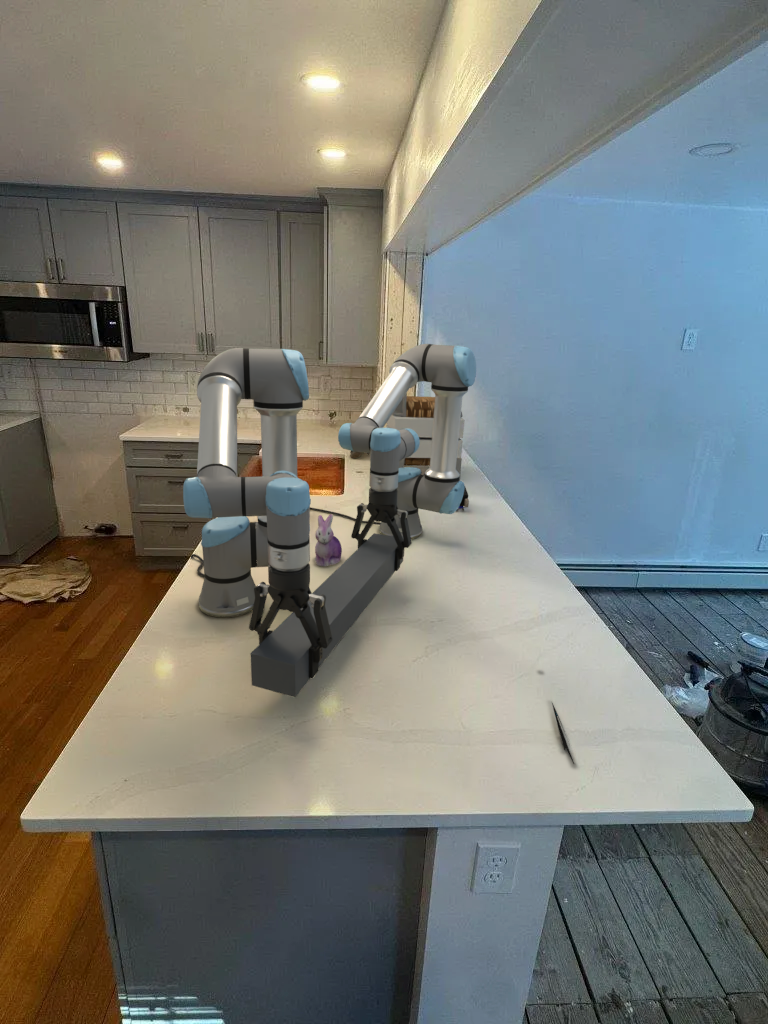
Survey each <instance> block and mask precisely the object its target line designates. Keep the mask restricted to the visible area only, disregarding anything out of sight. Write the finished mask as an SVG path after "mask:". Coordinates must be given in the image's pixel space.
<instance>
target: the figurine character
mask: <svg viewBox="0 0 768 1024" xmlns="http://www.w3.org/2000/svg"><path fill="white" fill-rule="evenodd" d="M469 505H470V500H469V492H468V490H467V488H466V486H465V489H464V494H463V498H462V501H461V503H460V505H459V507H458V509H461V511H462V512H464V511H465V508H469ZM458 509H457V510H456V511H455V512H457V511H458Z"/></svg>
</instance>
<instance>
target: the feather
mask: <svg viewBox="0 0 768 1024" xmlns="http://www.w3.org/2000/svg"><path fill="white" fill-rule="evenodd" d="M540 673H542V670H540ZM551 705H552V709H553V713H554V716H555V721H556V725H557V728H558V732H559V737H560V740H561V742H562V745H563V750H564V751H566V752H567V754H568V755H569V757H570V760H571V762H572V764H573V765H574V764H575V762H574V760H573V759H574V758H573V757H572V754H573V755H574V752H572V753H571V751H570V748H571V750H573V748H574V747H572V746H571V747H570V748H569V745H568V743H570V740H569V738H568V734H567V731H566V730H565V727H564V725H563V723H562V721H561V718H560V716H559V714H558V712H557V710H556V707H555V704H554V703H553V702H551ZM565 736H566V737H565ZM567 742H568V743H567Z"/></svg>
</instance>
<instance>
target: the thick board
mask: <svg viewBox="0 0 768 1024" xmlns="http://www.w3.org/2000/svg"><path fill="white" fill-rule="evenodd" d="M403 540H404V539H403ZM396 547H397V543H396V541H395V539H394V537H393V536H387V535H381V534H380V533H375V532H374V533H372V535H370V536H369V537H368V539H367V541H366V542H364V543H363V544H362V545H361V546H360V547H359V548H358V547H357V549H356V550H355V551H354V552H353V553H352V554H351V555H350V556H349V557H348V558H347V559H346V560H345V561H344V562H342V564H341V565H340V566H339V567H337V569H336V570H334V571H333V572H332V573H331V574H330V575H329V576H328V577H327V578H326V579H325V580H324V581H323V582H322V583H321V584H320V585H319V586H318V587H317V588H316V589H315V590H314V591H313V592H311V593H312V594H314V595H317V596H320V595H321V594H324V595H325V596H326V602H325V608H326V612H327V617H328V621H329V625H330V630H331V634H332V638H333V640H332V642H331V643H330V644H329V646H328V647H327V648H323V657H322V659H321V661H320V662H319V668H320V667H321V666H322V665H323V663H324V662H325V661H326V660H327V658H328V657H329V656H330V655H331V653H333V651H334V650H335V648H336V647H337V646H338V644H339V643H340V642H341V640H342V639H343V638H344V637H345V636H346V634H347V633H348V632H349V630H350V629H351V628H352V627H353V625H354V624H355V623H356V622H357V620H358V619H359V618H360V616H361V615H362V614H363V613H364V612H365V611H366V609H367V608H368V607H369V605H370V604H371V602H373V600H374V599H375V598H376V596H377V595H378V594H379V592H380V591H381V590H382V589H383V588H384V587H385V585H386V584H387V582H388V581H389V580H390V579H391V577H392V576H393V575H394V574H395V573H396V571H394V566H395V549H396ZM403 562H404V557H403V558H402V559H400V566H401V565H402V563H403ZM308 604H309V606H310V612H311V614H312V616H313V618H314V620H315V616H314V608H312V603H311V601H308ZM302 609H303V607H302V608H301V610H302ZM315 622H316V620H315ZM272 631H273V632H272V633H271V634H270V635H269V636H268V637H267V638H266V639H265V640H264V641H263V642H262V643H261V644H259V643H258V645H257V646H256V647H255V648H254V649H253V650H252V651H251V652H250V655H249V656H250V675H251V686H252V687H256V688H260V689H264V690H266V691H270V692H274V693H278V694H282V695H284V696H289V697H292V698H297V697H298V695H299V694H300V693H301V691H302V690H303V689H304V687H305V686H306V685H307V683H308V682H309V681H310V680H311V678H309V648H310V647H311V645H312V644H311V642H310V640H309V638H308V636H307V634H306V632H305V630H304V628H303V626H302V624H301V621H300V619H299V618H297V617H296V615H295V613H294V612H290V614H289V615H288V616H287V617H286V618H285V619H284V620H283V621H282V622H281V623H280V624H278V626H277V627H276V628H275V629H273V630H272Z"/></svg>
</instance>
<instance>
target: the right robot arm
mask: <svg viewBox="0 0 768 1024" xmlns="http://www.w3.org/2000/svg"><path fill="white" fill-rule="evenodd" d="M388 371H389V372H388V373H389V374H388V376H386V378H385V380H384V381H383V383H382V384H381V385H380V386H379V388H378V390H377V391H376V392H375V394H374V395H373V397H372V398H371V399H370V401H369V402H368V403H367V405H366V406H365V408H363V411H362V412H361V414H360V415H359V417H358V418H357V419H356V420H355V421H354V423H352V422H346V423H343V424H342V425H341V426H340V427H339V430H338V433H337V434H338V435H337V440H338V441H337V442H338V444H339V447H340V448H342V449H343V450H346V451H350V452H351V451H354V452H355V451H356V452H363V453H364V454H367V453H369V457H370V458H369V484H368V485H369V487H370V488H369V489H368V504H365V503H363V502H360V504H358V505H357V506H356V512H357V514H356V518H355V517H353V516H350V515H346V514H344V513H339V512H335V511H330V510H326V509H321V508H315V507H311V506H310V511H315V512H321V513H325V514H326V513H327V514H329V515H330V514H332V515H334V516H339V517H343V518H346V519H349V520H351V521H354V524H353V528H352V532H351V536H350V537H351V539H355V540H356V541H357V549H358V548H359V547H360V546H361V545H362V544H363V543H364V542H366V541H367V540H368V539H367V538H366V536H367V534H368V533H369V531H370V529H371V528H372V526H373V525H377V526H378V525H379V526H378V533H379V534H381V535H387V536H393V537H394V539H395V541H396V543H397V547H396V549H395V566H394V571H395V572H398V571H399V570H400V568H401V565H400V559H402V558H403V559H404V556H405V549H408V548H409V547H411V546H412V543H413V542H412V540H415V539H418V538H420V537H421V536H422V535H423V525H422V524H421V518H420V515H419V510H423V511H428V512H434V513H437V514H440V515H442V514H444V515H453V514H454V513H456V512H457V511H458V509H459V508H458V507H459V505H460V503H461V501H462V498H463V494H464V489H465V487H466V485H465V482H464V481H462V480H460V481H459V477H460V478H461V474H459V473H458V472H457V471H456V460H457V449H458V439H459V428H460V417H461V412H462V406H463V398H464V395H466V394H467V393H468V392H469V387H472V386H474V384H475V382H476V377H477V362H476V356H475V354H474V351H473V350H472V349H471V348H470V347H467V346H461V345H451V344H450V345H449V344H436V343H435V344H432V343H421V344H418V345H415V346H413V347H411V348H409V349H407V350H406V351H404V352H403V353H402V354H400V355H399V356H398V357H397V358H396V359H395V360H394V361H393V363H391V366H390V367H389V370H388ZM420 382H426V383H430V384H431V385H430V389H431V391H432V392H433V393H434V395H435V396H434V397H435V406H434V419H433V432H432V445H431V458H430V466H428V468H427V469H426V470H424V474H422V470H421V468H419V467H415V466H406V467H405V466H404V468H399V461H400V460H402V459H404V458H407V457H409V456H411V455H412V454H413V453H415V452H416V451H417V450H418V448H419V444H420V440H419V437H418V435H417V433H416V432H415V431H414V430H412V429H408V428H406V429H400V430H397V429H393V428H386V427H385V426H386V425H387V421H388V420H389V418H390V417H391V415H392V414H393V412H394V411H395V409H396V408H397V406H398V405H399V403H400V402H401V400H402V399H403V397H404V396H405V394H406V393H407V394H408V392H409V390H410V389H412V388H414V387H415V386H416V385H417V384H418V383H420ZM461 418H462V417H461ZM456 510H457V511H456ZM367 511H368V513H369V515H370V516H369V519H368V520H364V517H365V516H364V515H365V513H366V512H367ZM363 524H365V525H364V527H363V528H362V530H361V527H362V525H363ZM360 530H361V532H360ZM403 539H404V540H403Z"/></svg>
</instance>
